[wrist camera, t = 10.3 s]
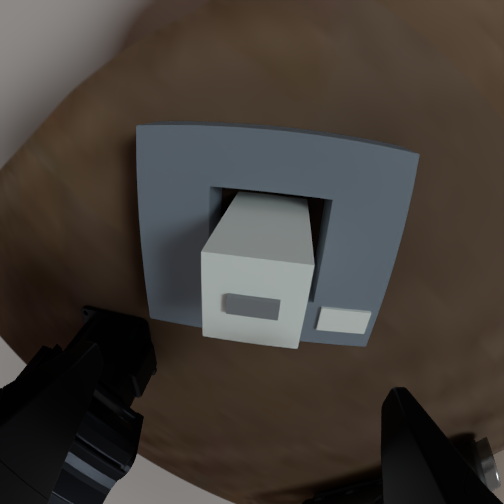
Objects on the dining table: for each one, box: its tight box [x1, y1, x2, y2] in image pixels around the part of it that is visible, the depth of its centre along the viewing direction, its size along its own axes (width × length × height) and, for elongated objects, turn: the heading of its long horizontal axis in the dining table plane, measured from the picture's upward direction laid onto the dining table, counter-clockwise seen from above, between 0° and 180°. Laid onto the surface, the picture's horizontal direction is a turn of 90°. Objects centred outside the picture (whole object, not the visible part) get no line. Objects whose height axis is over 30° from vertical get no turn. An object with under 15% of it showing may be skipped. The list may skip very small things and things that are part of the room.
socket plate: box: [136, 121, 419, 347], centre depth 17 cm, size 14×12×3 cm
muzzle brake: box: [302, 437, 501, 504], centre depth 28 cm, size 10×28×10 cm, turn 130°
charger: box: [201, 191, 315, 349], centre depth 15 cm, size 4×4×8 cm
